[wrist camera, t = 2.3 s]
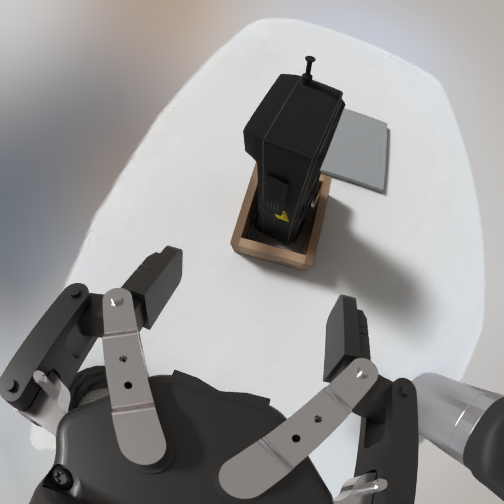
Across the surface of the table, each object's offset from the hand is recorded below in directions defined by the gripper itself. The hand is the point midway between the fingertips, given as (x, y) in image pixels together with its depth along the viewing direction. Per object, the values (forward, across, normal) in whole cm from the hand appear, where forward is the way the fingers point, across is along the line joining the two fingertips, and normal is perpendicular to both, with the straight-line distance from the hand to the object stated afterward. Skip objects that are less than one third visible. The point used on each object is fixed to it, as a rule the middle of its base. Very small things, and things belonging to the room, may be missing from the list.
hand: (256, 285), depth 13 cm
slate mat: (+35, -6, -3) cm, 36 cm away
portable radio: (+24, 0, +9) cm, 26 cm away
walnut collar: (+24, 0, +9) cm, 26 cm away
